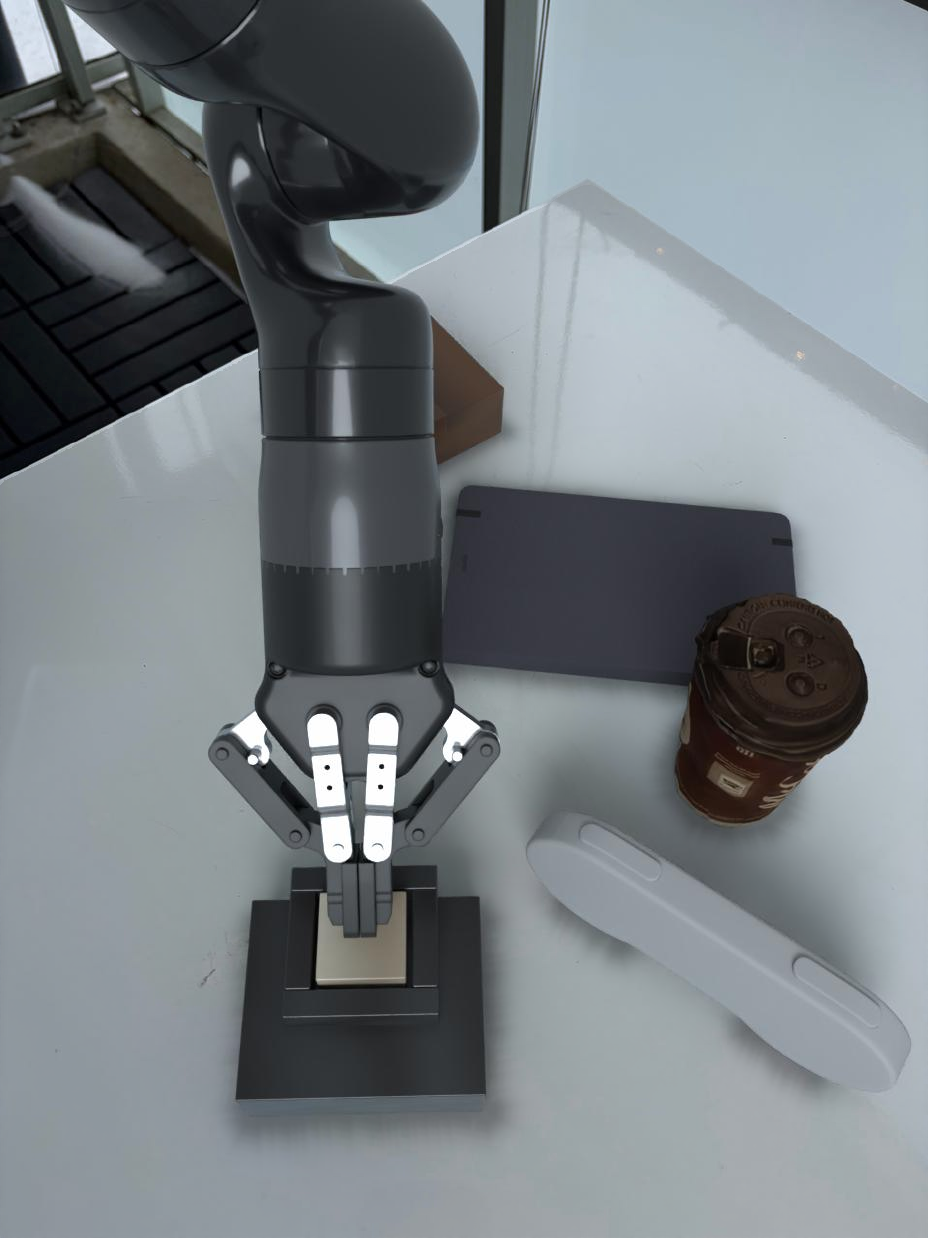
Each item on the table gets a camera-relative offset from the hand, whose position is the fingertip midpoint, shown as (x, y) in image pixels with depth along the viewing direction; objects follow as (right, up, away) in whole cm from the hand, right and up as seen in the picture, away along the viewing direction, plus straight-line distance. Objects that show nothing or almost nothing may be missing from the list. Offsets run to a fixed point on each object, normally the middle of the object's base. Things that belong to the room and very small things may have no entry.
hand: (362, 929), depth 49 cm
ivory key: (0, -1, +2) cm, 3 cm away
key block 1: (0, -6, +5) cm, 7 cm away
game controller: (+16, -4, +6) cm, 18 cm away
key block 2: (-1, +27, +26) cm, 38 cm away
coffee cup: (+19, +5, +12) cm, 24 cm away
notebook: (+14, +16, +19) cm, 29 cm away
